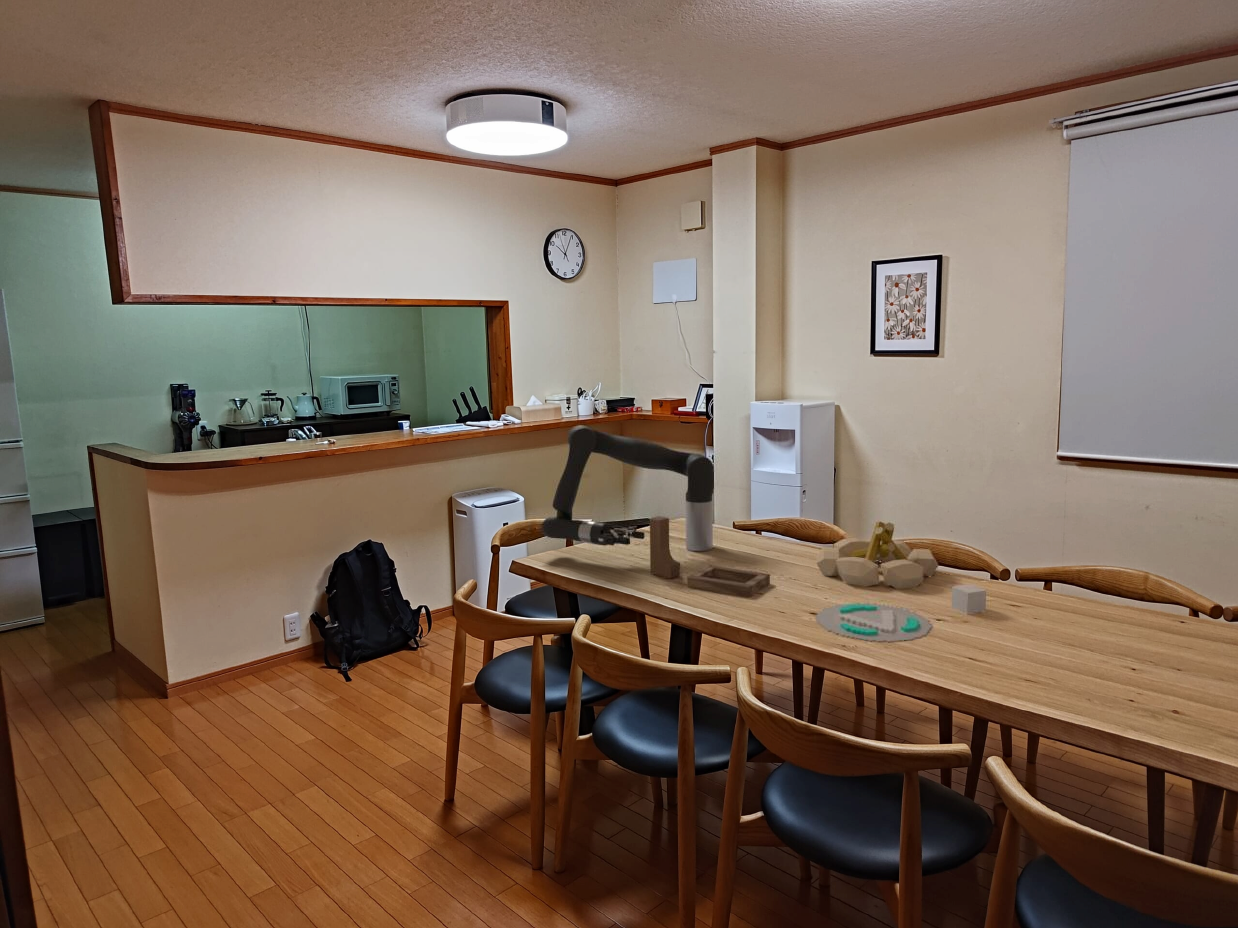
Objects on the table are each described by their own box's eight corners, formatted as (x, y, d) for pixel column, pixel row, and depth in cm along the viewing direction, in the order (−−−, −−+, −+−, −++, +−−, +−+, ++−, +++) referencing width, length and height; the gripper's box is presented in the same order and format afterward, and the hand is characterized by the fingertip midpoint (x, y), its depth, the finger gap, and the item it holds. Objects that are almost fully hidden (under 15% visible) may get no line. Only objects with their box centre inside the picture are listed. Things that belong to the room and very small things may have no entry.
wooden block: (680, 576, 255) (680, 519, 252) (670, 579, 252) (670, 522, 249) (659, 570, 262) (659, 515, 259) (650, 573, 259) (649, 518, 256)
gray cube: (969, 605, 223) (970, 584, 222) (985, 612, 217) (986, 590, 216) (951, 607, 221) (952, 586, 220) (966, 614, 215) (968, 592, 215)
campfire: (912, 598, 230) (914, 539, 228) (801, 579, 251) (801, 524, 248) (948, 569, 258) (950, 516, 255) (845, 553, 278) (846, 504, 276)
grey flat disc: (847, 648, 195) (847, 642, 195) (799, 610, 223) (799, 605, 222) (953, 637, 201) (953, 631, 200) (894, 602, 228) (894, 596, 228)
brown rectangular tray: (710, 574, 257) (710, 565, 256) (769, 583, 246) (769, 573, 245) (687, 586, 244) (687, 577, 244) (748, 597, 233) (748, 587, 233)
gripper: (582, 526, 264) (624, 531, 255) (607, 517, 275) (648, 522, 266) (583, 548, 265) (624, 555, 256) (607, 539, 276) (648, 545, 267)
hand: (636, 538), depth 261 cm, fingers open, 8 cm apart
